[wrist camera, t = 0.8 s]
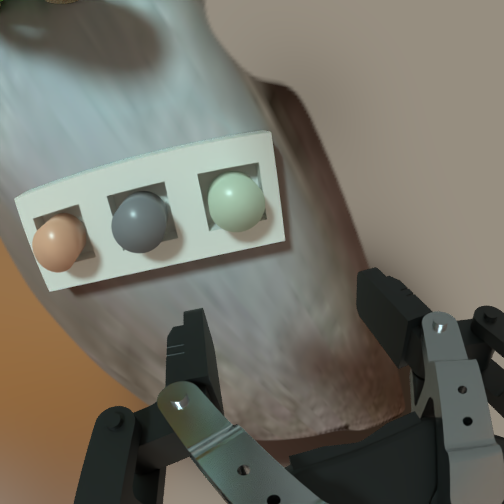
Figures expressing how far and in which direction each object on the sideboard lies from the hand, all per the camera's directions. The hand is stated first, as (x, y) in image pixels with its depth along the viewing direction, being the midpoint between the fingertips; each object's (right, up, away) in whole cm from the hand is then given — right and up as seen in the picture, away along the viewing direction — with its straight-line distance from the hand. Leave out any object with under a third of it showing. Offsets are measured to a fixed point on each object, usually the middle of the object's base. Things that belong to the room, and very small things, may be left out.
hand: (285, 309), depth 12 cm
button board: (-11, +6, +17) cm, 21 cm away
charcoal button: (-11, +5, +15) cm, 19 cm away
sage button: (-3, +7, +15) cm, 17 cm away
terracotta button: (-19, +4, +14) cm, 23 cm away
